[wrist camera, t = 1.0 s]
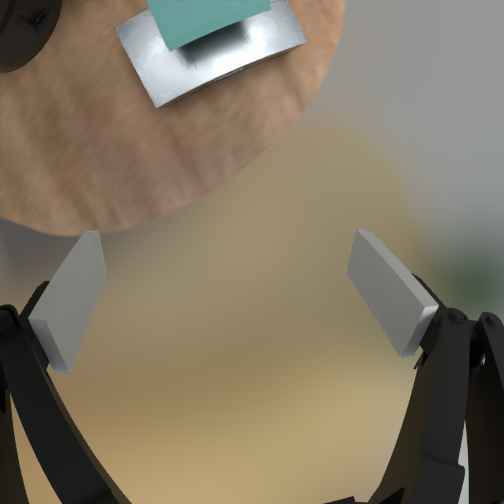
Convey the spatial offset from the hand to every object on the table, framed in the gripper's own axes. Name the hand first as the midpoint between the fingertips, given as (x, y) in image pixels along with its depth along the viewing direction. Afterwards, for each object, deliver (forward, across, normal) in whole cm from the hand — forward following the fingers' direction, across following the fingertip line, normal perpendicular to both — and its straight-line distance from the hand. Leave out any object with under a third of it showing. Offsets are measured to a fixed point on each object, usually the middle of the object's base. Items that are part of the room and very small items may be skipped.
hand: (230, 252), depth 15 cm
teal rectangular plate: (+13, -2, +16) cm, 21 cm away
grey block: (+25, -1, +14) cm, 29 cm away
